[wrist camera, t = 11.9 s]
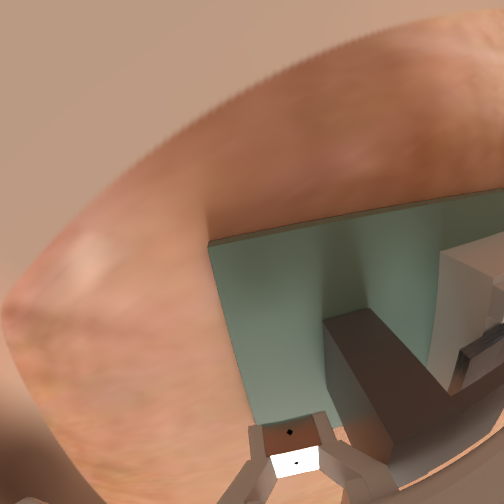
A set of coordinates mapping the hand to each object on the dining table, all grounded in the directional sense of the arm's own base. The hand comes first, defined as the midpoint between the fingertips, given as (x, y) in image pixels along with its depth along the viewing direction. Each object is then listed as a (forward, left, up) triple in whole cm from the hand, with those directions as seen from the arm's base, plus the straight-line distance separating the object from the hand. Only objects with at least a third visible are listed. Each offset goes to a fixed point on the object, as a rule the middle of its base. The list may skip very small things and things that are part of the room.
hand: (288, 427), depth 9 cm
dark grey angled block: (-5, 0, -4) cm, 7 cm away
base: (-12, 0, -5) cm, 13 cm away
